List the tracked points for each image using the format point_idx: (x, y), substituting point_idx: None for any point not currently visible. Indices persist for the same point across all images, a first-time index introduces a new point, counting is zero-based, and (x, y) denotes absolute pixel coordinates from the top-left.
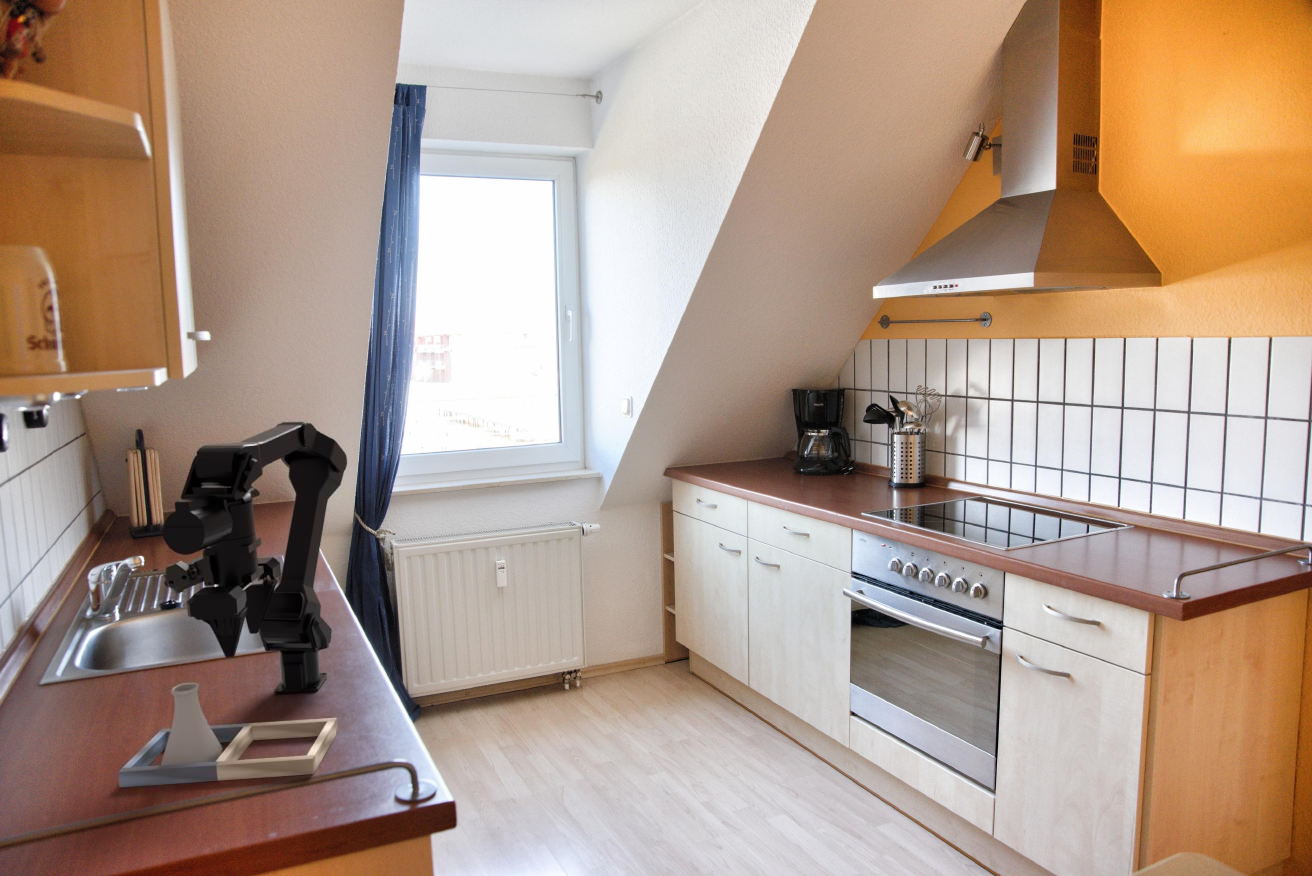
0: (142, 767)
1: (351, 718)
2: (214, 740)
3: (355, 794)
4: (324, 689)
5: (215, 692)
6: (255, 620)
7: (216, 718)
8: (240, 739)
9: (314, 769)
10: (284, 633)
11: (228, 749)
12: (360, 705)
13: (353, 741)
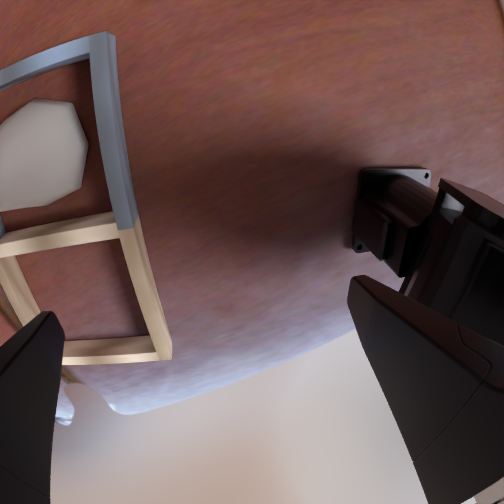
0: None
1: (222, 341)
2: (46, 199)
3: None
4: (360, 256)
5: (390, 39)
6: (375, 343)
7: (244, 85)
8: (63, 245)
9: None
10: (419, 294)
11: (27, 244)
12: (274, 336)
13: (144, 365)
